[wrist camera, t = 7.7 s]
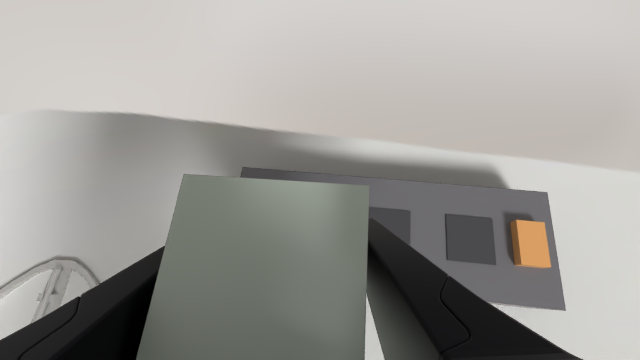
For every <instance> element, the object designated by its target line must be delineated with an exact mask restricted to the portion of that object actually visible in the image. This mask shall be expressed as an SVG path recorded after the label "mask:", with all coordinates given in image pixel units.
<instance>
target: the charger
mask: <svg viewBox="0 0 640 360" xmlns="http://www.w3.org/2000/svg"><path fill="white" fill-rule="evenodd" d="M368 214H369V186H367V185H351V184H335V183H319V182H303V181H287V180H271V179H255V178H239V177H223V176H207V175H190V174H184V175H183V179H182V183H181V187H180V190H179V194H178V198H177V202H176V206H175V210H174V214H173V218H172V222H171V225H170V229H169V233H168V237H167V241H166V245H165V249H164V253H163V257H162V260H161V264H160V268H159V272H158V276H157V280H156V284H155V288H154V292H153V295H152V299H151V303H150V307H149V311H148V315H147V319H146V323H145V327H144V330H143V334H142V338H141V342H140V346H139V350H138V354H137V358H136V360H364V358H365V322H366V286H367V250H368Z"/></svg>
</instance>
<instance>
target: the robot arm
mask: <svg viewBox="0 0 640 360" xmlns="http://www.w3.org/2000/svg"><path fill="white" fill-rule="evenodd" d="M164 249H165V246H163V247H162V248H160V249H158V250H157V251H155V252H153V253H151V254H150V255H148V256H146V257H145V258H143V259H141V260H140V261H138V262H136V263H134V264H133V265H131V266H129V267H128V268H126V269H124V270H123V271H121V272H119V273H117V274H116V275H114V276H112V277H111V278H109V279H107V280H106V281H104V282H102V283H100V284H99V285H97V286H95V287H94V288H92V289H90V290H88V291H87V292H85V293H83V294H82V295H81V297H76V298H75V299H73V300H71V301H70V302H68V303H66V304H65V305H63V306H61V307H59V308H58V309H56V310H54V311H52V312H51V313H49V314H47V315H45V316H44V317H42V318H40V319H38V320H37V321H35V322H33V323H31V324H29V325H27V326H25V327H24V328H22V329H20V330H18V331H16V332H14V333H13V334H11V335H9V336H7V337H5V338H3V339H1V340H0V360H136V358H137V354H138V350H139V346H140V342H141V338H142V334H143V330H144V327H145V323H146V319H147V315H148V311H149V307H150V303H151V299H152V295H153V292H154V288H155V284H156V280H157V276H158V272H159V268H160V264H161V260H162V257H163V253H164ZM366 293H367V297H368V301H369V305H370V308H371V312H372V315H373V319H374V323H375V326H376V330H377V334H378V337H379V341H380V344H381V348H382V352H383V355H384V359H385V360H583V359H580V358H578V357H576V356H574V355H572V354H570V353H568V352H566V351H565V350H563V349H561V348H560V347H558V346H556V345H555V344H553V343H551V342H550V341H548V340H547V339H545V338H543V337H542V336H540V335H539V334H537V333H535V332H534V331H532V330H531V329H529V328H527V327H526V326H524V325H523V324H521V323H519V322H518V321H516V320H515V319H513V318H511V317H510V316H508V315H507V314H505V313H503V312H502V311H500V310H499V309H497V308H496V307H494V306H493V305H491V304H490V303H488V302H486V301H485V300H483V299H482V298H480V297H479V296H477V295H476V294H475V293H473V292H472V291H470V290H469V289H468V288H466V287H465V286H463V285H462V284H461V283H459V282H458V281H457V280H455V279H454V278H453V277H451V276H449V275H448V274H447V273H446V272H445V271H443V270H442V269H441V268H439V267H438V266H437V265H435V264H434V263H433V262H431V261H430V260H429V259H427V258H426V257H425V256H423V255H422V254H421V253H419V252H418V251H417V250H415V249H414V248H413V247H411V246H410V245H409V244H407V243H406V242H405V241H403V240H402V239H401V238H399V237H398V236H397V235H395V234H394V233H393V232H391V231H390V230H389V229H387V228H386V227H385V226H383V225H382V224H381V223H380V222H378V221H377V220H376V219H374V218H368V250H367V286H366Z"/></svg>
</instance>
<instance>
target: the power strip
mask: <svg viewBox="0 0 640 360" xmlns="http://www.w3.org/2000/svg"><path fill="white" fill-rule="evenodd" d="M240 178H255V179H271V180H287V181H303V182H319V183H335V184H351V185H367V186H369V214H368V218H374V219H376V220H377V221H378V222H380V223H381V224H382V225H383V226H385V227H386V228H387V229H389V230H390V231H391V232H393V233H394V234H395V235H397V236H398V237H399V238H401V239H402V240H403V241H405V242H406V243H407V244H409V245H410V246H411V247H413V248H414V249H415V250H417V251H418V252H419V253H421V254H422V255H423V256H425V257H426V258H427V259H429V260H430V261H431V262H433V263H434V264H435V265H437V266H438V267H439V268H441V269H442V270H443V271H445V272H446V273H447V274H448V275H449V276H451V277H453V278H454V279H455V280H457V281H458V282H459V283H461V284H462V285H463V286H465V287H466V288H468V289H469V290H470V291H472V292H473V293H475V294H476V295H477V296H479V297H480V298H482V299H483V300H485V301H486V302H488V303H491V304H500V305H508V306H517V307H526V308H536V309H550V310H564V311H566V308H565V302H564V296H563V289H562V283H561V277H560V270H559V264H558V257H557V251H556V245H555V238H554V232H553V226H552V219H551V213H550V206H549V200H548V194H547V192H538V191H525V190H513V189H501V188H489V187H477V186H465V185H453V184H441V183H429V182H417V181H405V180H393V179H381V178H369V177H356V176H344V175H332V174H320V173H308V172H296V171H284V170H272V169H260V168H248V167H243V168H242V173H241V177H240Z"/></svg>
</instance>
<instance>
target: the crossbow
mask: <svg viewBox="0 0 640 360" xmlns="http://www.w3.org/2000/svg"><path fill="white" fill-rule="evenodd" d="M50 269H53V271H52V274H51V276H50V279H49V281H48V283H47V286H46V288H45V291H44V293H43V294H39V296H38V299H37V301H40V303H39V305H38V308H37V310H36V313H35V315H34V318H33V320H32V322H31V323H33V322H35V321H37V320H38V319H40V318H42V317H44V316H45V315H47V314H49V313H51V312H52V311H54V310H56V309H58V308H59V307H60V304H61V301H62V298H63V295H64V292H65V289H66V286H67V283H68V280H69V277H70V274H71V271H72V270H73V271H76V272H78V273H79V274H80V275H81V276H83V277H84V278H85V280H86V281H87V283H88V284H89V286H90V287H91V289H92V288H94V287H95V286H97V285H99V283H98V282H97V281H96V279H95V278H94V276H93V275H92V274H91V272H90V271H89V270H87V269H86V268H85V267H83V266H82V265H81V264H80V263H78V262H77V261H74V260H59V259H55V260H52V261H49V262H48V263H45V264H43V265H40V266H37V267H35V268H33V269H32V270H30V271H29V272H27V273H25V274H24V275H22V276H20V277H19V278H17V279H15V280H14V281H12V282H10V283H9V284H8V285H6V286H5V287H3V288H2V289H1V290H0V300H1V299H2V298H3V297H5V296H6V295H7V294H9V293H10V292H11V291H13V290H14V289H16V288H17V287H19V286H20V285H22V284H23V283H25V282H27V281H28V280H30V279H31V278H33V277H34V276H36V275H37V274H40V273H42V272H45V271H47V270H50Z"/></svg>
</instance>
